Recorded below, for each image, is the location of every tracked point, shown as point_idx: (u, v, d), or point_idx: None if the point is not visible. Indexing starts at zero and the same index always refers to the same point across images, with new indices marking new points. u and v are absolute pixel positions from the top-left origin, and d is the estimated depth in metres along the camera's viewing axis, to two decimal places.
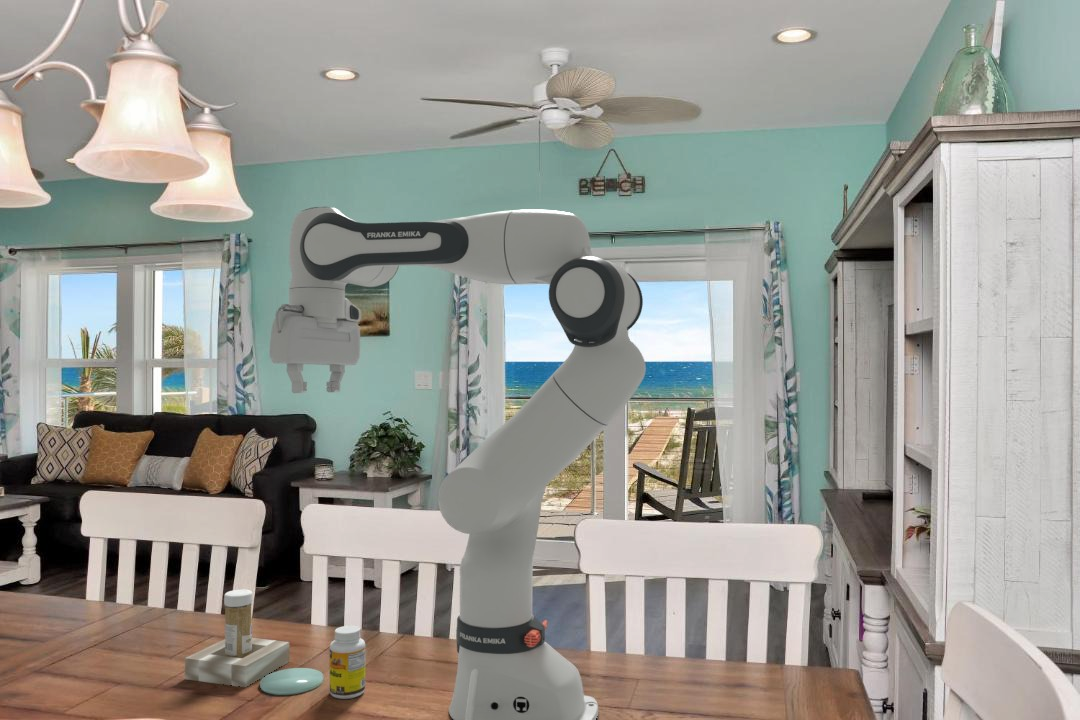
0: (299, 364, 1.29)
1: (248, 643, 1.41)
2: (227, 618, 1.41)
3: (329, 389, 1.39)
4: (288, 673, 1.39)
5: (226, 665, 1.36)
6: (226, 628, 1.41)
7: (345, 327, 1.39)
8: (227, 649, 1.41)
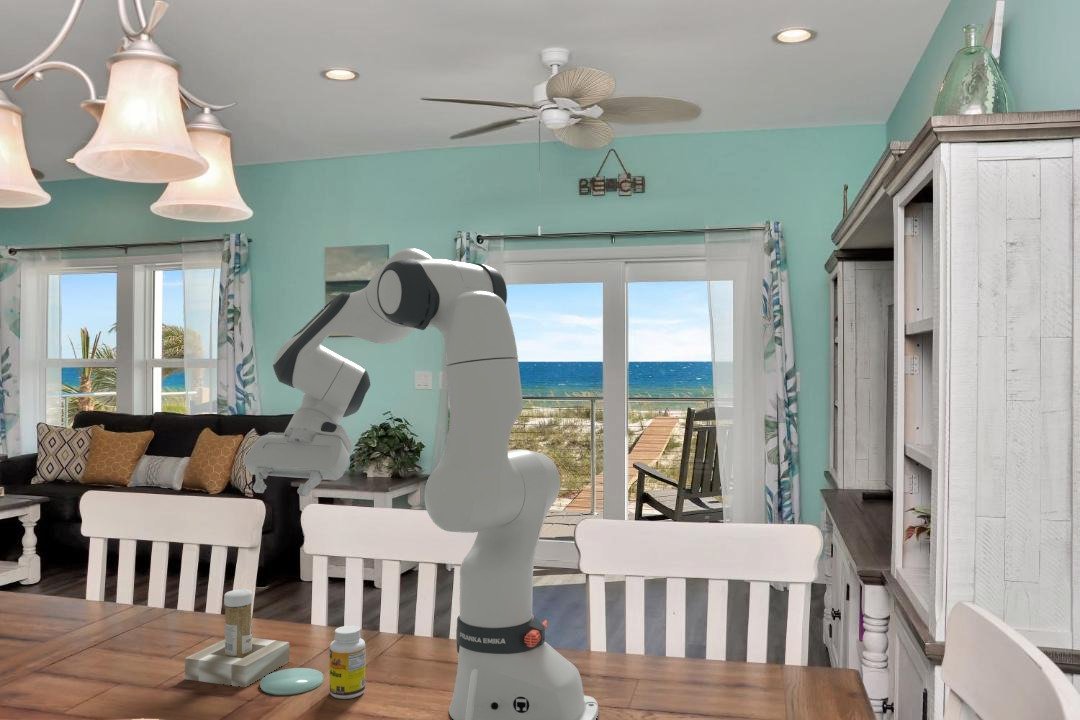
0: (258, 467, 1.57)
1: (248, 643, 1.41)
2: (227, 618, 1.41)
3: None
4: (288, 673, 1.39)
5: (226, 665, 1.36)
6: (226, 628, 1.41)
7: (318, 439, 1.58)
8: (227, 649, 1.41)
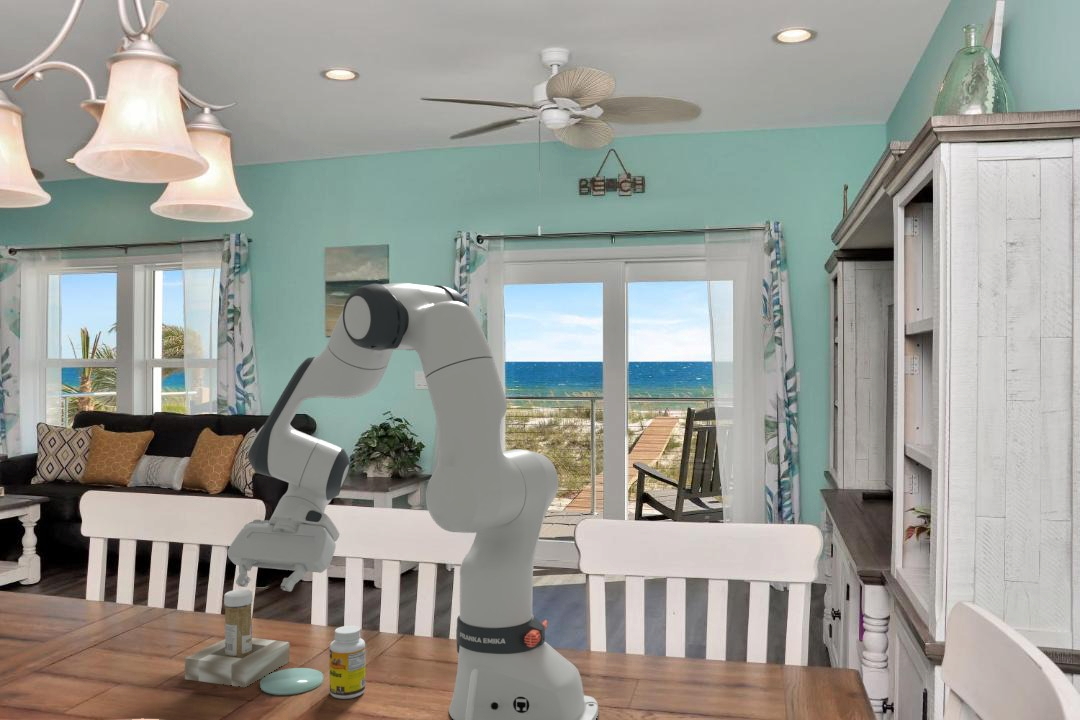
0: (242, 559, 1.53)
1: (248, 643, 1.41)
2: (227, 618, 1.41)
3: None
4: (288, 673, 1.39)
5: (226, 665, 1.36)
6: (226, 628, 1.41)
7: (303, 529, 1.53)
8: (227, 649, 1.41)
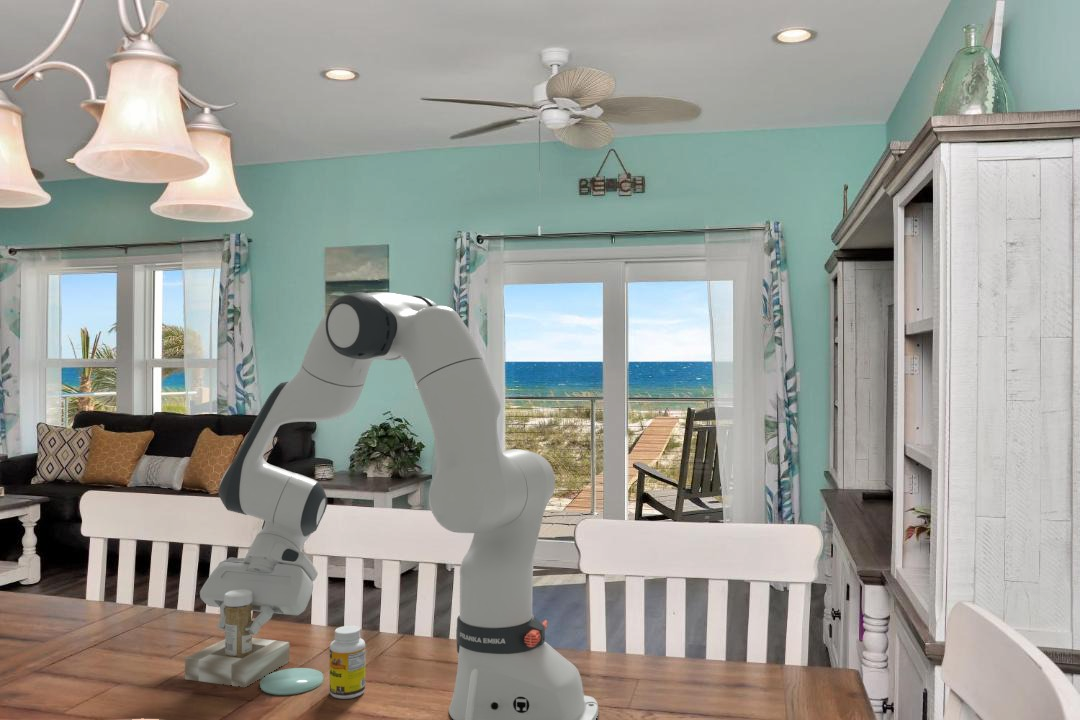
0: None
1: (248, 643, 1.41)
2: (227, 618, 1.41)
3: None
4: (288, 673, 1.39)
5: (226, 665, 1.36)
6: (226, 628, 1.41)
7: (279, 569, 1.46)
8: (227, 649, 1.41)
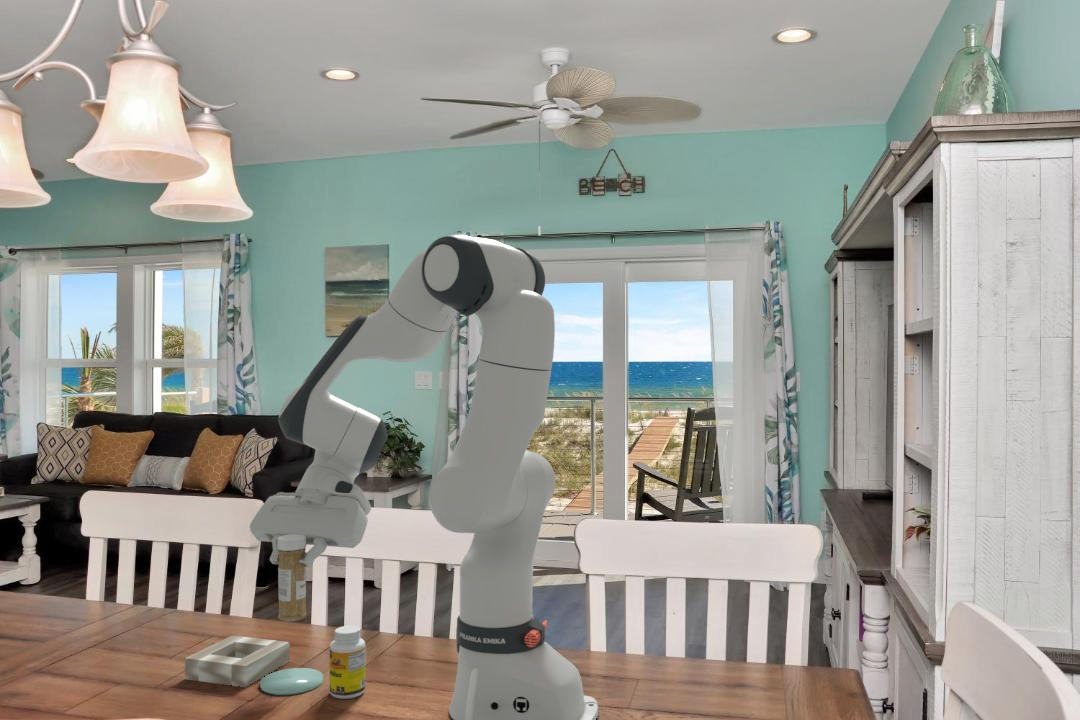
0: (276, 535, 1.40)
1: (302, 589, 1.36)
2: (281, 563, 1.35)
3: None
4: (288, 673, 1.39)
5: (226, 665, 1.36)
6: (280, 573, 1.35)
7: (332, 501, 1.41)
8: (281, 595, 1.35)
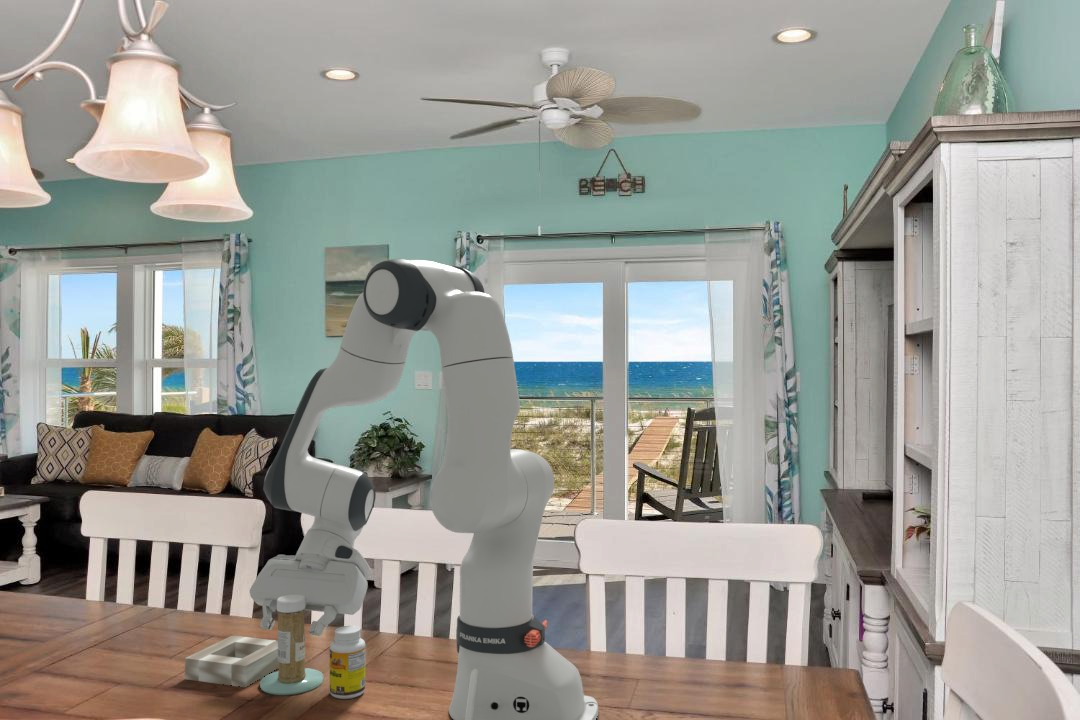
0: (266, 600, 1.40)
1: (302, 651, 1.36)
2: (280, 624, 1.35)
3: None
4: None
5: (226, 665, 1.36)
6: (279, 635, 1.35)
7: (332, 567, 1.40)
8: (280, 657, 1.35)
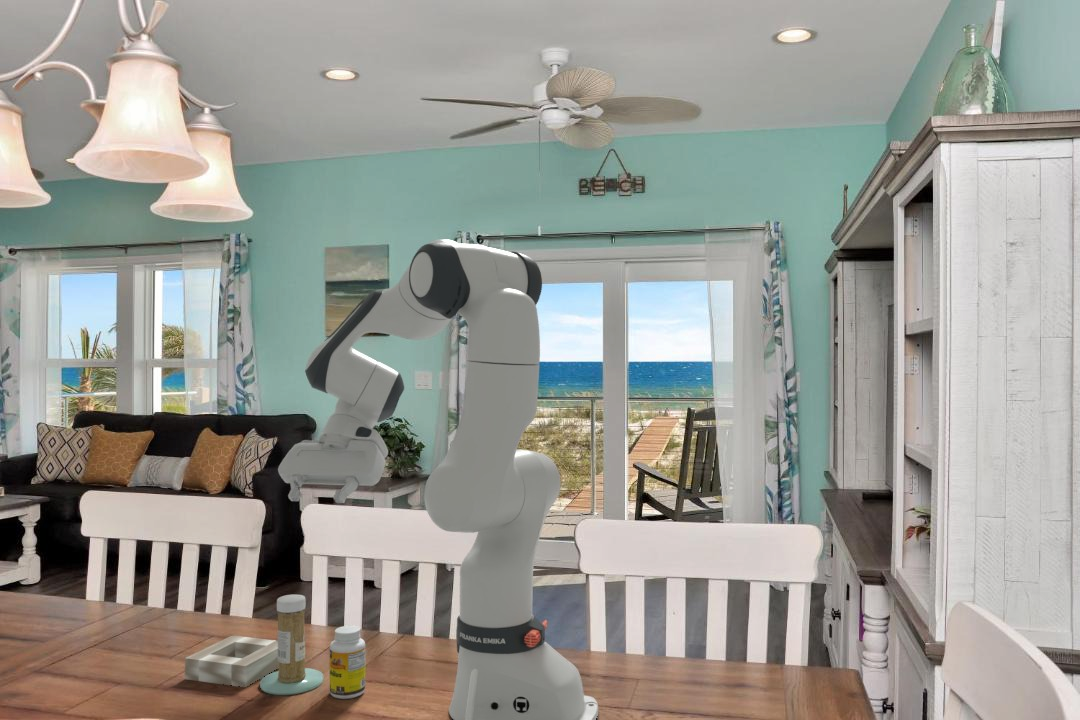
0: (293, 475, 1.54)
1: (302, 651, 1.36)
2: (280, 624, 1.35)
3: None
4: None
5: (226, 665, 1.36)
6: (279, 635, 1.35)
7: (353, 445, 1.54)
8: (280, 657, 1.35)
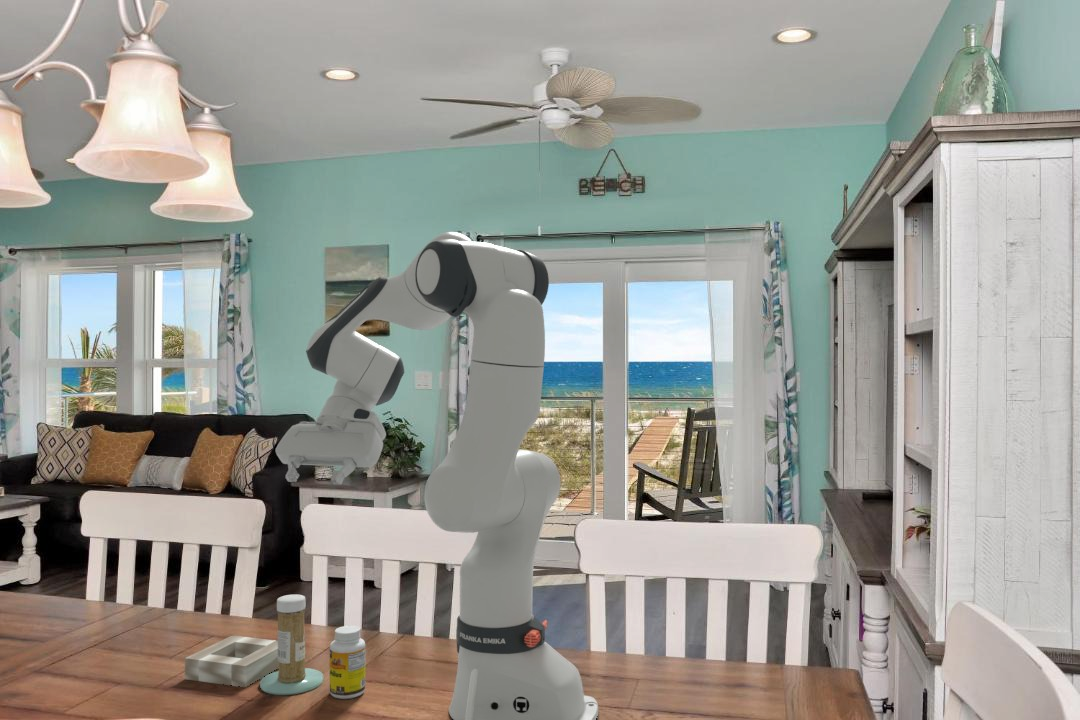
0: (291, 456, 1.54)
1: (302, 651, 1.36)
2: (280, 624, 1.35)
3: None
4: None
5: (226, 665, 1.36)
6: (279, 635, 1.35)
7: (351, 426, 1.54)
8: (280, 657, 1.35)
